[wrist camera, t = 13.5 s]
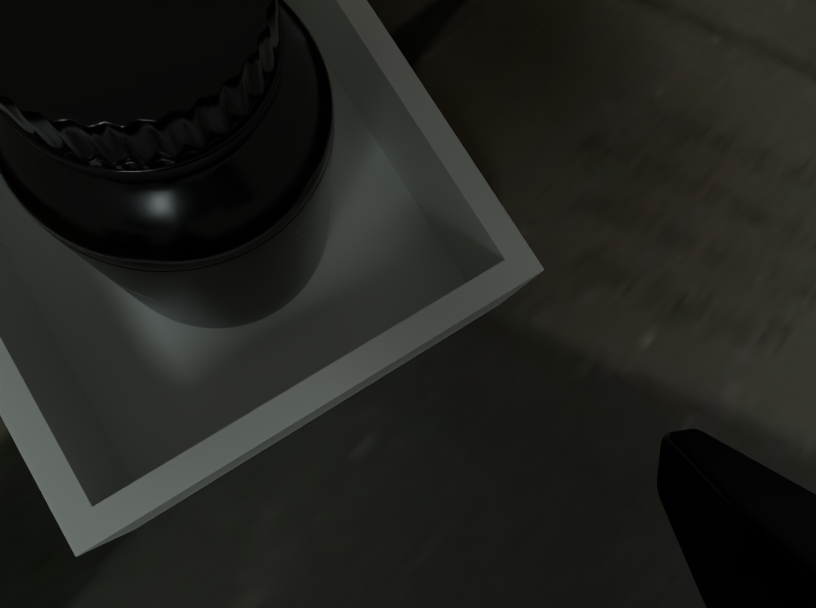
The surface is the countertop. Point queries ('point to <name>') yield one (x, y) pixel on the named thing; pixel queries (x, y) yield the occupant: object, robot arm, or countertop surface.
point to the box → (262, 340)
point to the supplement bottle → (172, 146)
